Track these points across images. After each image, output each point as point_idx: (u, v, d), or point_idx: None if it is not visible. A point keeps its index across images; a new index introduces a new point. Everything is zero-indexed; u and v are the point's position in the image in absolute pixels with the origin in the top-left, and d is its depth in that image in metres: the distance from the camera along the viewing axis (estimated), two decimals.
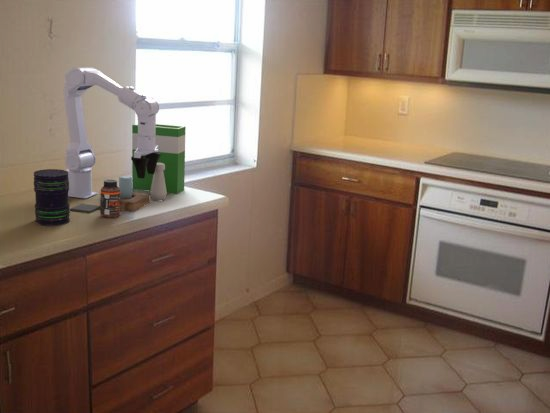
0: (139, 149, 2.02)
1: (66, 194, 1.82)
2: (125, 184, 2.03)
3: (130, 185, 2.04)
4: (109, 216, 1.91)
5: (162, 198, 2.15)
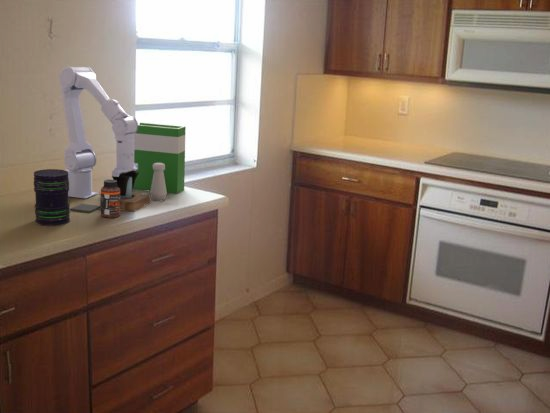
0: (118, 167, 2.01)
1: (66, 194, 1.82)
2: None
3: (130, 185, 2.04)
4: (109, 216, 1.91)
5: (162, 198, 2.15)
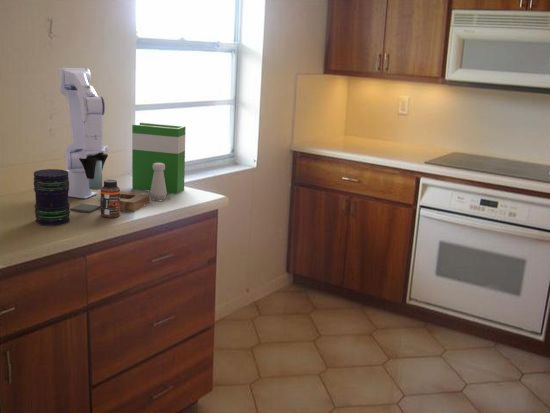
0: (85, 149, 1.94)
1: (66, 194, 1.82)
2: (96, 168, 1.96)
3: (100, 168, 1.97)
4: (109, 216, 1.91)
5: (162, 198, 2.15)
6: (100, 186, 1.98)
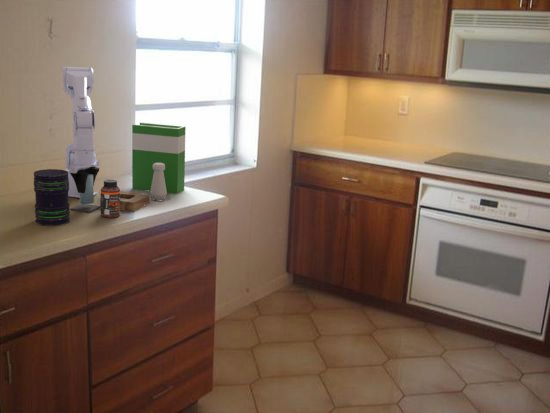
0: (76, 163, 1.94)
1: (66, 194, 1.82)
2: (87, 182, 1.95)
3: (92, 183, 1.97)
4: (109, 216, 1.91)
5: (162, 198, 2.15)
6: (91, 200, 1.98)
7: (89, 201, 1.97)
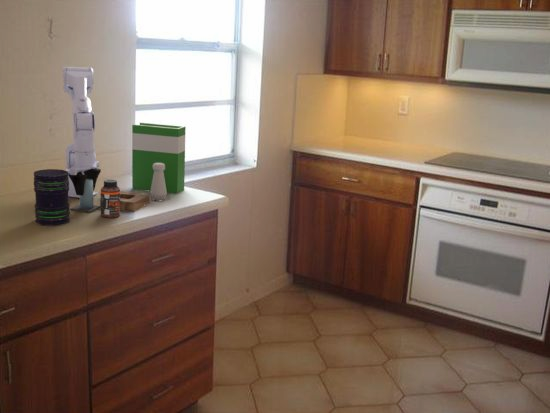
0: (76, 165, 1.94)
1: (66, 194, 1.82)
2: (87, 188, 1.96)
3: (92, 188, 1.97)
4: (109, 216, 1.91)
5: (162, 198, 2.15)
6: (91, 205, 1.98)
7: (89, 206, 1.98)
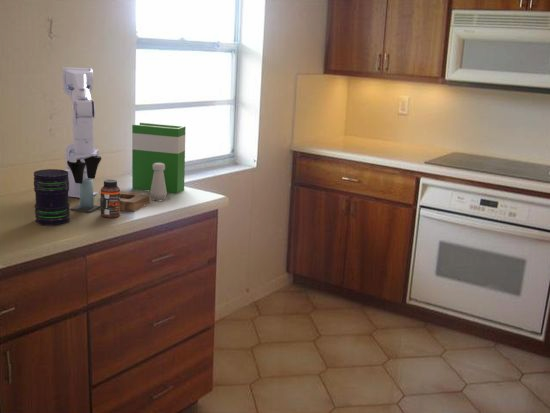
0: (76, 153, 1.93)
1: (66, 194, 1.82)
2: (87, 188, 1.96)
3: (92, 188, 1.97)
4: (109, 216, 1.91)
5: (162, 198, 2.15)
6: (91, 205, 1.98)
7: (89, 206, 1.98)
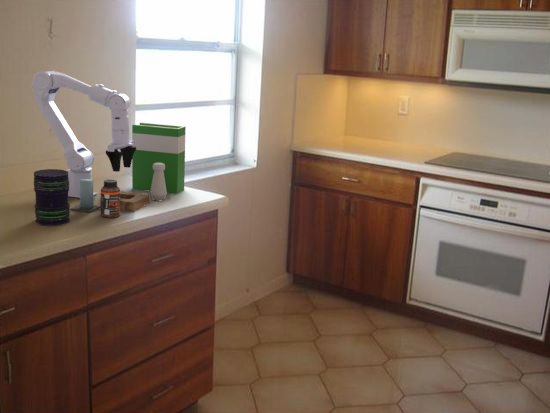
0: (113, 143, 2.08)
1: (66, 194, 1.82)
2: (87, 187, 1.96)
3: (92, 188, 1.97)
4: (109, 216, 1.91)
5: (162, 198, 2.15)
6: (91, 205, 1.98)
7: (89, 206, 1.98)
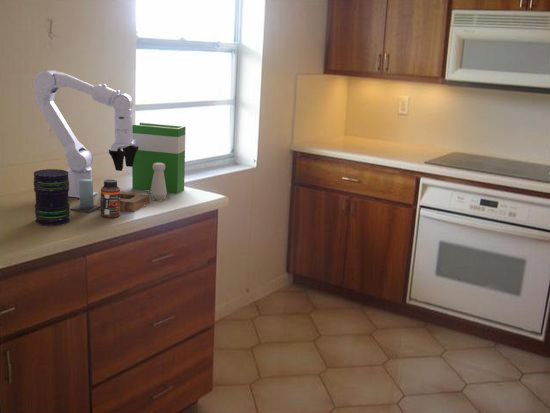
0: (116, 142, 2.10)
1: (66, 194, 1.82)
2: (87, 188, 1.95)
3: (91, 188, 1.97)
4: (109, 216, 1.91)
5: (162, 198, 2.15)
6: (91, 205, 1.98)
7: (89, 206, 1.98)
